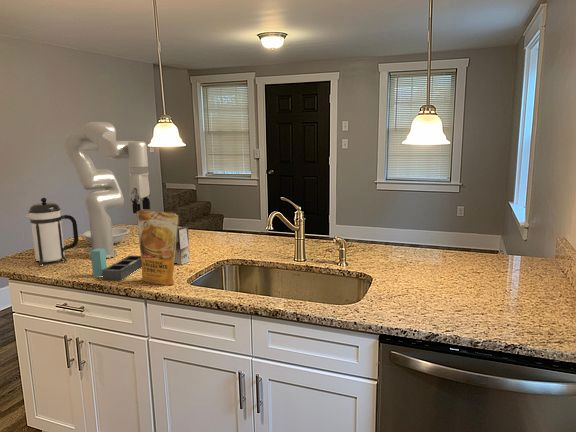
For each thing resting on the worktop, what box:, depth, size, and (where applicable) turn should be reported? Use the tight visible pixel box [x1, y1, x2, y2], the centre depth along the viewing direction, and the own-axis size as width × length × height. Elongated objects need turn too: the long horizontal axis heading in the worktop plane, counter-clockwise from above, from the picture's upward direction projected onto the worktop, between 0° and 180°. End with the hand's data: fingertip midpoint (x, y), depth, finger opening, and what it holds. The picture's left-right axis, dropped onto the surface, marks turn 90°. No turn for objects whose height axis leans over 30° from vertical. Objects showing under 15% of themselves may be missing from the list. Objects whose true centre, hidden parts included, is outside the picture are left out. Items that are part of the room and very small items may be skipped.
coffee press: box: [25, 197, 79, 266], centre depth 204 cm, size 17×16×30 cm
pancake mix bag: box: [135, 209, 180, 286], centre depth 174 cm, size 7×19×28 cm, turn 64°
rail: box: [102, 255, 142, 281], centre depth 189 cm, size 8×22×4 cm, turn 172°
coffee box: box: [174, 225, 191, 265], centre depth 201 cm, size 9×6×16 cm
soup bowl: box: [81, 227, 131, 245], centre depth 238 cm, size 24×24×7 cm
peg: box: [90, 249, 108, 277], centre depth 183 cm, size 4×4×11 cm
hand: (141, 211), depth 190 cm, fingers open, 9 cm apart
